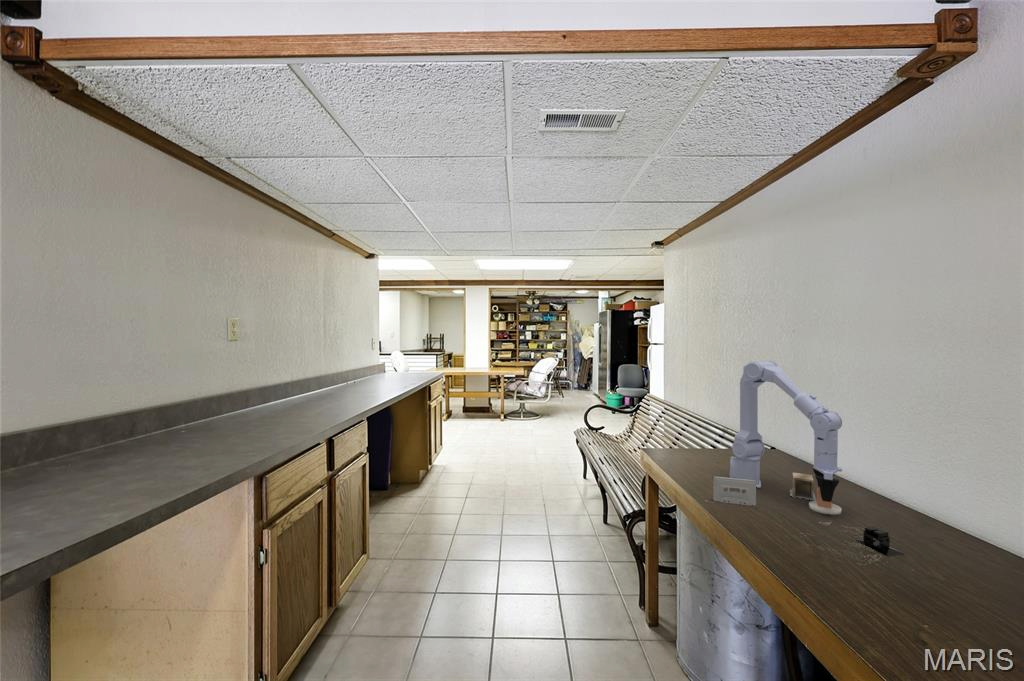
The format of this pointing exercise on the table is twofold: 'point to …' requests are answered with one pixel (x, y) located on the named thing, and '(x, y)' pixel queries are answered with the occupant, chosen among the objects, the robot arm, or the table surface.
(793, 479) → the beige open box
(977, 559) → the table surface
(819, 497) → the block
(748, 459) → the robot arm
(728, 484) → the cassette
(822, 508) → the dish
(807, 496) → the pad
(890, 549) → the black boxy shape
